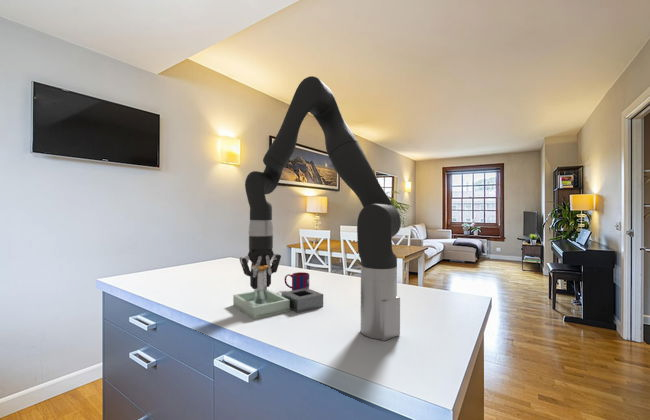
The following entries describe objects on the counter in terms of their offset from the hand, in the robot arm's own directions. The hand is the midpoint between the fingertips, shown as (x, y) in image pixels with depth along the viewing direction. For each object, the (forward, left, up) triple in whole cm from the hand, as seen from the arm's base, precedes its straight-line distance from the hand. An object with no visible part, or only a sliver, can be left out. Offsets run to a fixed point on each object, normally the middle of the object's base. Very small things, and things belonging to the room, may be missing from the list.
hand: (260, 287), depth 96 cm
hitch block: (-6, -12, -7) cm, 15 cm away
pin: (0, 0, -5) cm, 5 cm away
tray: (0, 0, -7) cm, 7 cm away
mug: (+10, -20, -7) cm, 23 cm away
